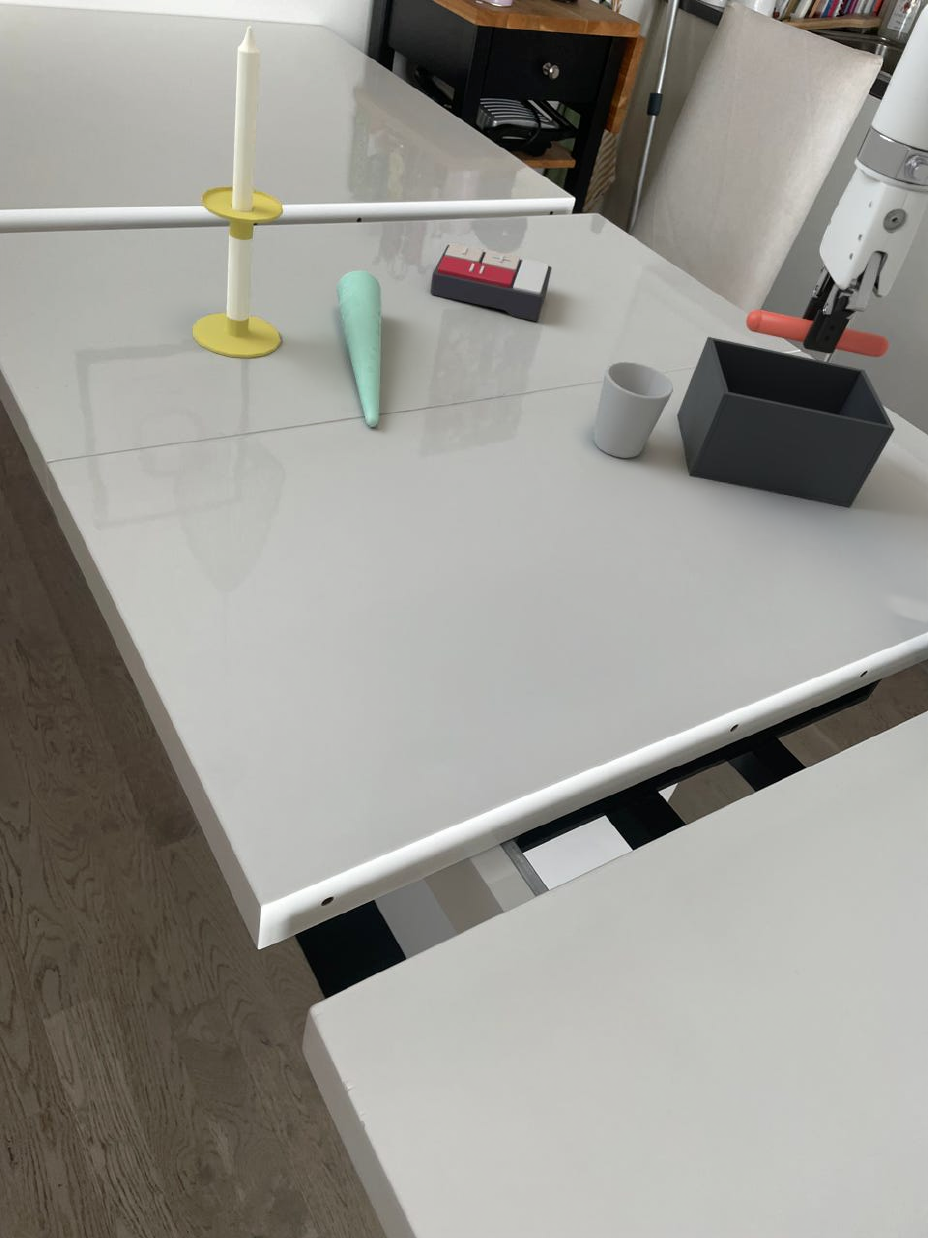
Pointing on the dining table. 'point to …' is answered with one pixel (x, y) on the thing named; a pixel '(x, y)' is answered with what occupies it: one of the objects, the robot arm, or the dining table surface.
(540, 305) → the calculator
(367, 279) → the long green cone
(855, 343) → the red rod
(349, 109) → the dining table surface
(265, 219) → the candle
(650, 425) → the cup
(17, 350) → the dining table surface
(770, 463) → the bin
